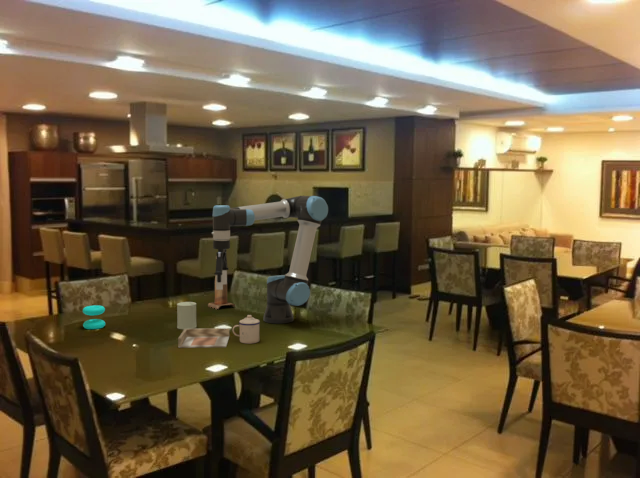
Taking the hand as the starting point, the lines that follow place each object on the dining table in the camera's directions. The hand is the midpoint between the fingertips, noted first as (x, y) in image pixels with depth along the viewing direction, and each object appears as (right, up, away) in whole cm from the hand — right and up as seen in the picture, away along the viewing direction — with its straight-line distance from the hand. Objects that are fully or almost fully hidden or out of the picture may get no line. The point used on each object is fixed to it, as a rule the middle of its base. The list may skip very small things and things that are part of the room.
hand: (221, 286), depth 272 cm
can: (-20, -21, +19) cm, 35 cm away
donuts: (-64, -21, +18) cm, 70 cm away
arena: (-6, -24, -8) cm, 26 cm away
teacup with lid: (+12, -24, -6) cm, 27 cm away
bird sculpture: (-11, -17, +67) cm, 70 cm away
